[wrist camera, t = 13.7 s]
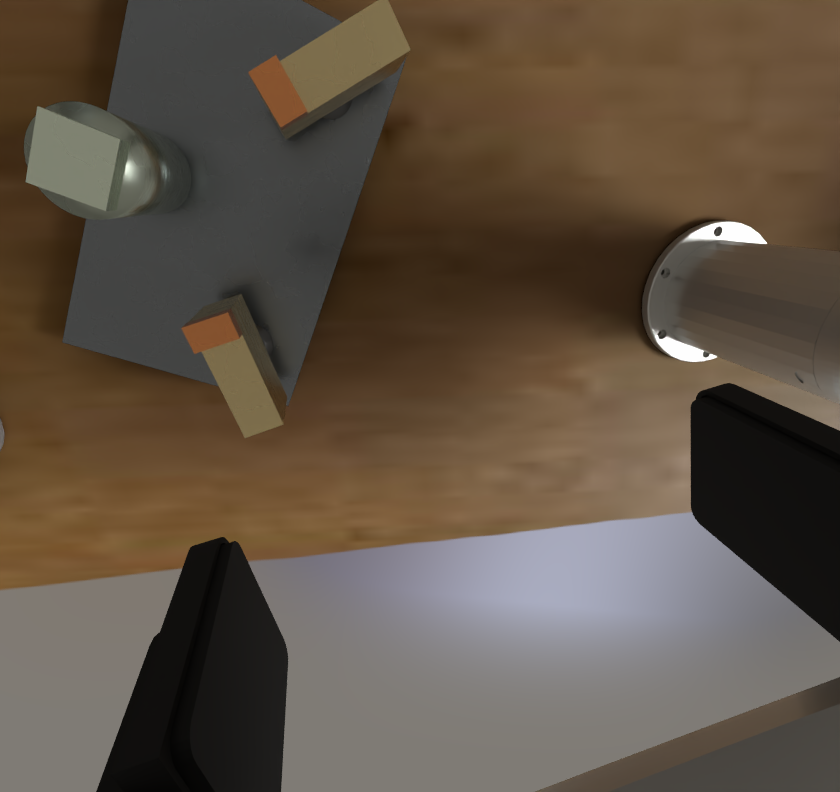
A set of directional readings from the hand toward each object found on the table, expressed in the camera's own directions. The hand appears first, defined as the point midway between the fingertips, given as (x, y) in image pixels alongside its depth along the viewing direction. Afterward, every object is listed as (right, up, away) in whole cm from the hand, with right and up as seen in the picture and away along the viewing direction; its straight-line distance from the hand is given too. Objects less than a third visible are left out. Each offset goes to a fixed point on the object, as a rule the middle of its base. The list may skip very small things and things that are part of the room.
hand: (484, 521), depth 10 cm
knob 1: (-14, +6, +27) cm, 31 cm away
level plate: (-15, +16, +26) cm, 34 cm away
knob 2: (-7, +22, +22) cm, 32 cm away
